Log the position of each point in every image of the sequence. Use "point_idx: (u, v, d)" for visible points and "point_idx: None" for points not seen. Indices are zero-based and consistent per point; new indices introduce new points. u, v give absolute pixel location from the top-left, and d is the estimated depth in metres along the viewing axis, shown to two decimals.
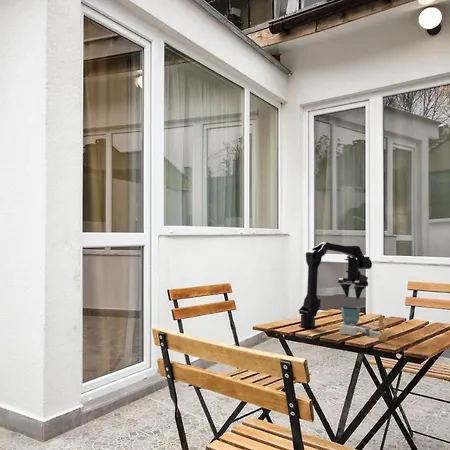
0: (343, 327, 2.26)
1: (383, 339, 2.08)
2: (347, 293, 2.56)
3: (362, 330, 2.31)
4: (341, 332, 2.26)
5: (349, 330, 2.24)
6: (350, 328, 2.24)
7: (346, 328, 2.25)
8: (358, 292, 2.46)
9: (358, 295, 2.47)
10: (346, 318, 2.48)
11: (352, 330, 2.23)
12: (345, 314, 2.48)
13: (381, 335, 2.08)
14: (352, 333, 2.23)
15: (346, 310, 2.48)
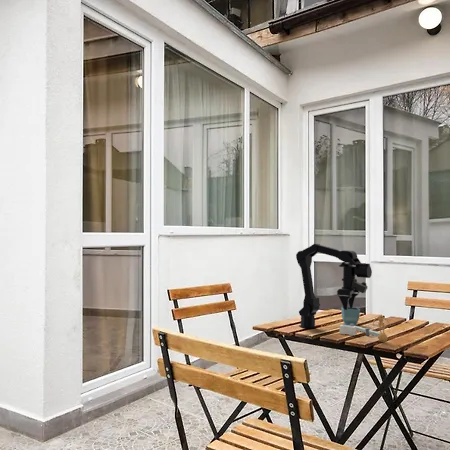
0: (343, 327, 2.26)
1: (383, 339, 2.08)
2: (351, 303, 2.31)
3: (362, 330, 2.31)
4: (341, 332, 2.26)
5: (349, 330, 2.24)
6: (350, 328, 2.24)
7: (346, 328, 2.25)
8: (343, 302, 2.23)
9: (344, 305, 2.23)
10: (346, 318, 2.48)
11: (352, 330, 2.23)
12: (345, 314, 2.48)
13: (381, 335, 2.08)
14: (352, 333, 2.23)
15: (346, 310, 2.48)
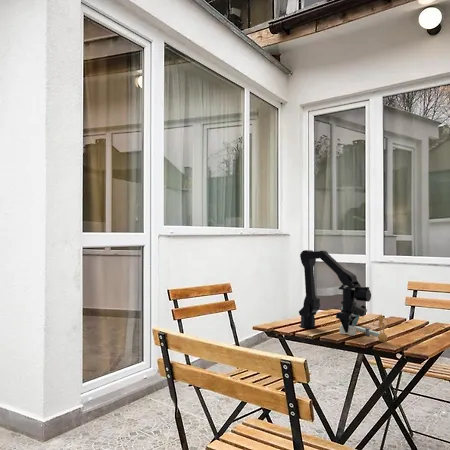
0: None
1: (383, 339, 2.08)
2: None
3: (362, 330, 2.31)
4: (341, 332, 2.26)
5: (349, 330, 2.24)
6: (350, 328, 2.24)
7: None
8: (344, 325, 2.24)
9: (345, 328, 2.24)
10: None
11: (352, 330, 2.23)
12: None
13: (381, 335, 2.08)
14: (352, 333, 2.23)
15: None
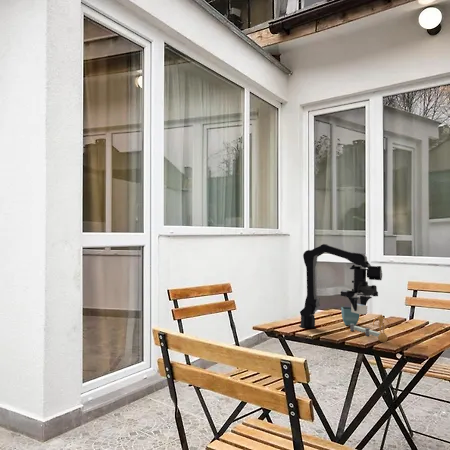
0: None
1: (383, 339, 2.08)
2: None
3: (362, 330, 2.31)
4: (352, 310, 2.31)
5: (357, 308, 2.27)
6: (358, 306, 2.27)
7: None
8: (352, 303, 2.29)
9: (353, 306, 2.28)
10: (346, 318, 2.48)
11: (359, 308, 2.26)
12: (345, 314, 2.48)
13: (381, 335, 2.08)
14: (359, 311, 2.26)
15: (346, 310, 2.48)
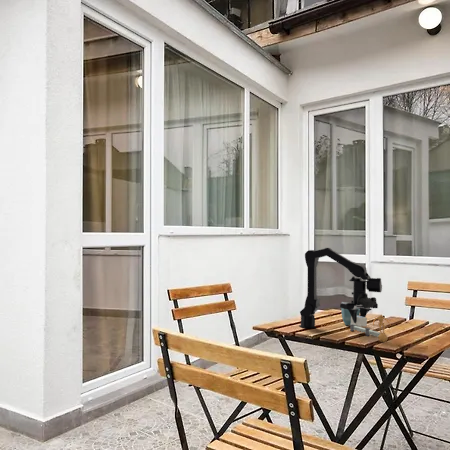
0: None
1: (383, 339, 2.08)
2: None
3: (362, 330, 2.31)
4: (352, 322, 2.31)
5: (357, 320, 2.27)
6: (358, 318, 2.27)
7: None
8: (352, 315, 2.28)
9: (353, 318, 2.28)
10: (346, 318, 2.48)
11: (359, 320, 2.26)
12: (345, 314, 2.48)
13: (381, 335, 2.08)
14: (359, 323, 2.26)
15: (346, 310, 2.48)
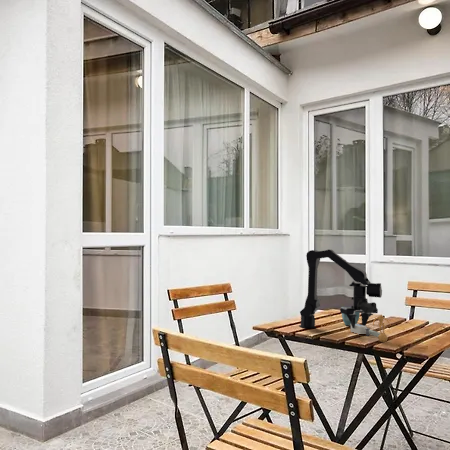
0: None
1: (383, 339, 2.08)
2: (363, 323, 2.30)
3: None
4: (352, 331, 2.30)
5: (357, 329, 2.27)
6: (357, 327, 2.26)
7: (355, 327, 2.28)
8: (350, 320, 2.28)
9: (352, 323, 2.28)
10: (346, 318, 2.48)
11: (359, 329, 2.26)
12: (345, 314, 2.48)
13: (381, 335, 2.08)
14: (359, 332, 2.25)
15: None
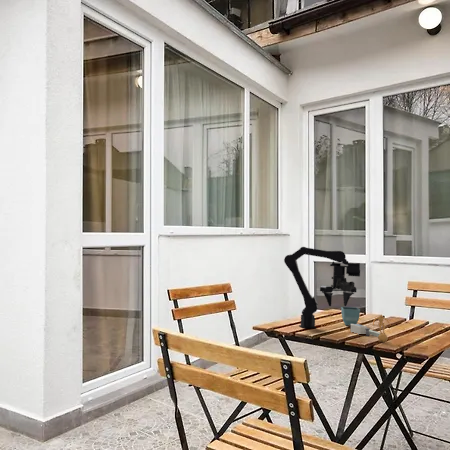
0: (353, 326, 2.30)
1: (383, 339, 2.08)
2: (345, 302, 2.40)
3: None
4: (351, 331, 2.30)
5: (357, 329, 2.27)
6: (358, 327, 2.26)
7: (355, 327, 2.28)
8: (327, 298, 2.36)
9: (328, 302, 2.36)
10: (346, 318, 2.48)
11: (359, 329, 2.25)
12: (345, 314, 2.48)
13: (381, 335, 2.08)
14: (359, 332, 2.25)
15: (346, 310, 2.48)
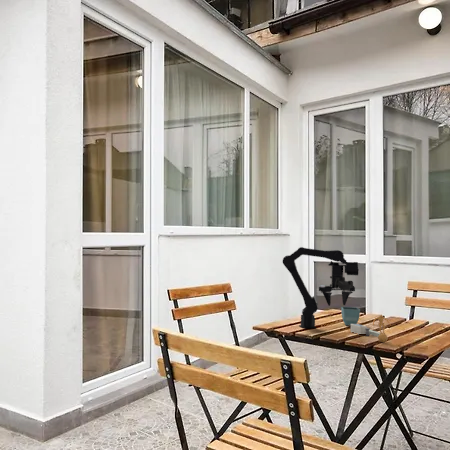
0: (353, 326, 2.29)
1: (383, 339, 2.08)
2: (344, 301, 2.40)
3: None
4: (351, 331, 2.30)
5: (357, 329, 2.27)
6: (358, 327, 2.26)
7: (355, 327, 2.28)
8: (326, 298, 2.37)
9: (327, 301, 2.37)
10: (346, 318, 2.48)
11: (359, 329, 2.25)
12: (345, 314, 2.48)
13: (381, 335, 2.08)
14: (359, 332, 2.25)
15: (346, 310, 2.48)
